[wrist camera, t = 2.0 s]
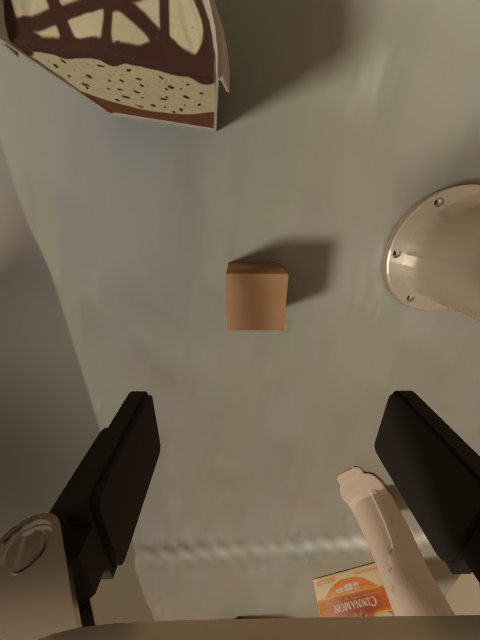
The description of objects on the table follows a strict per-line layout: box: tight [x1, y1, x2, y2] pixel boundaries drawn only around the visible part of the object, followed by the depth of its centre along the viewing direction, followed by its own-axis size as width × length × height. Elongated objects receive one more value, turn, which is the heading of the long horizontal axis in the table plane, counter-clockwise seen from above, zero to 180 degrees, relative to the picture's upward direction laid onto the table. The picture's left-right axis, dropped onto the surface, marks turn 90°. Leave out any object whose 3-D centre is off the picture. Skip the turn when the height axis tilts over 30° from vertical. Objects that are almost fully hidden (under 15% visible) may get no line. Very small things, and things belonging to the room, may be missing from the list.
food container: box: [0, 0, 230, 131], centre depth 16 cm, size 12×6×10 cm, turn 83°
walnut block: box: [226, 263, 289, 330], centre depth 25 cm, size 6×6×6 cm
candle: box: [337, 467, 455, 616], centre depth 32 cm, size 7×14×20 cm, turn 36°
